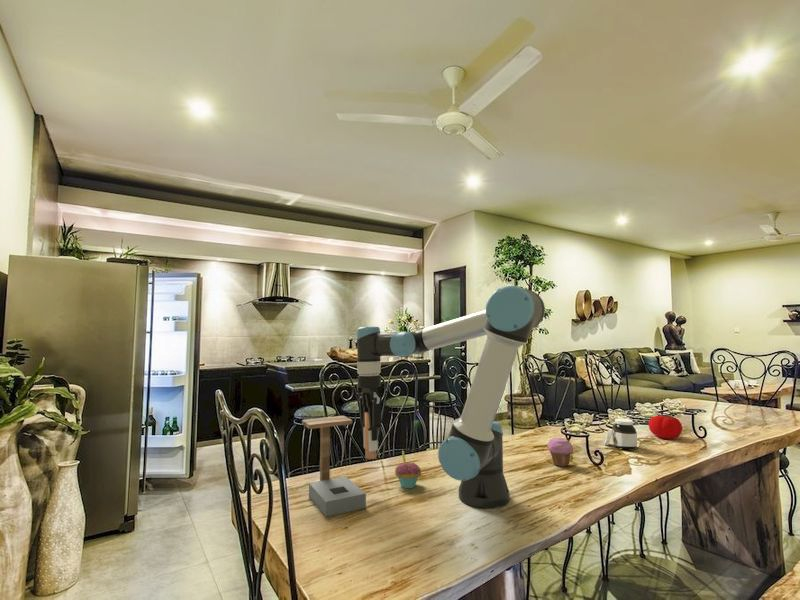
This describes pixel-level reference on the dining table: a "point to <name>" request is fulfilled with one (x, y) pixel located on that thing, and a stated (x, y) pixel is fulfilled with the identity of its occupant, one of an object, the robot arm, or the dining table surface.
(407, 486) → the cupcake
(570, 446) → the cupcake
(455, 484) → the dining table surface
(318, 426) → the wooden t-shaped stand
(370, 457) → the peg
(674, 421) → the tomato
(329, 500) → the socket block
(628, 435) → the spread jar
